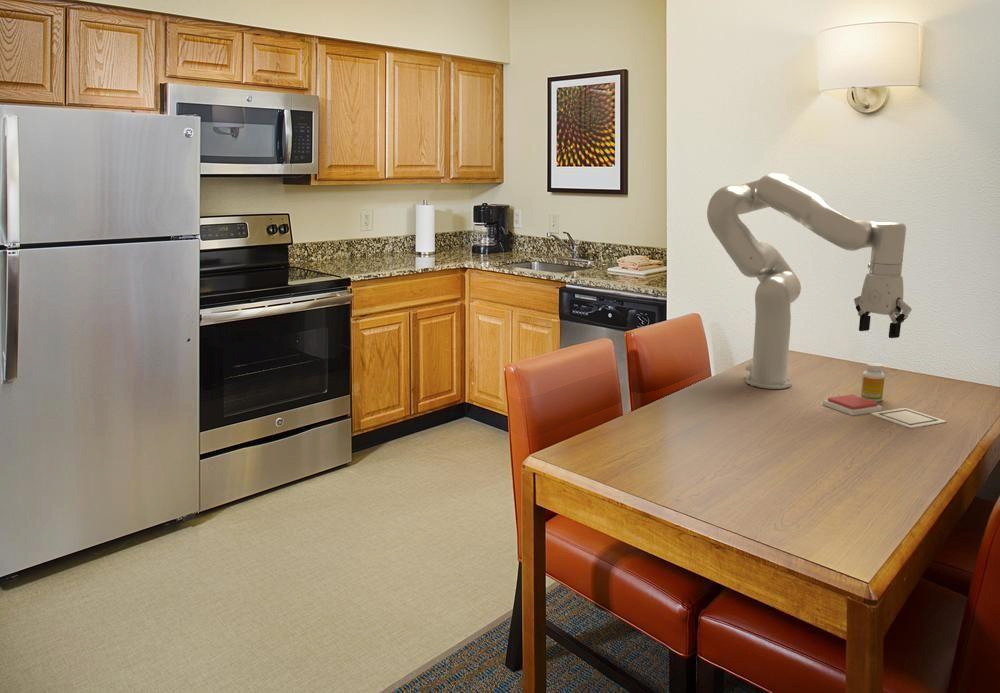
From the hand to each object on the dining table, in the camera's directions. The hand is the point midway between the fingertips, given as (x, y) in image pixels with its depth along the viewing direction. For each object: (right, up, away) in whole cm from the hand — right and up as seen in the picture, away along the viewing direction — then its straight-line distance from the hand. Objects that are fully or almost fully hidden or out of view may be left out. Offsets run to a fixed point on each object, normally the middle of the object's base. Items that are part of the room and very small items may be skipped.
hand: (878, 334), depth 205 cm
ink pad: (-9, -19, -4) cm, 22 cm away
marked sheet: (+1, -21, -12) cm, 25 cm away
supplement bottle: (0, -18, +4) cm, 18 cm away
